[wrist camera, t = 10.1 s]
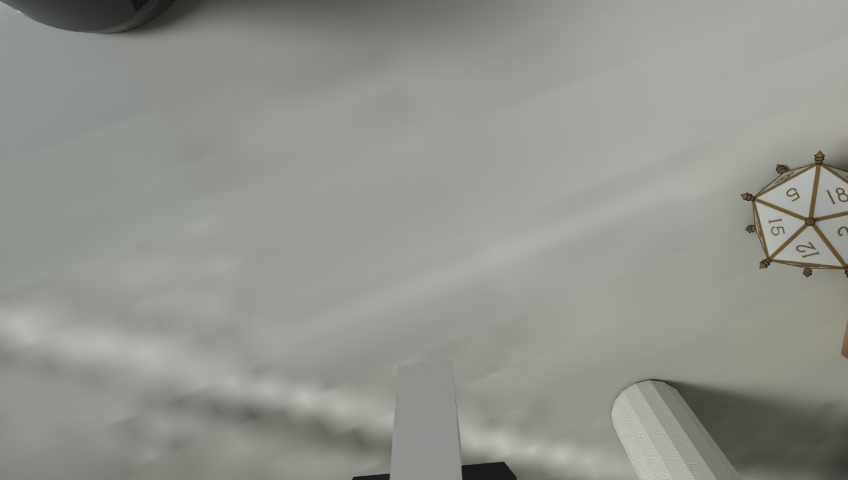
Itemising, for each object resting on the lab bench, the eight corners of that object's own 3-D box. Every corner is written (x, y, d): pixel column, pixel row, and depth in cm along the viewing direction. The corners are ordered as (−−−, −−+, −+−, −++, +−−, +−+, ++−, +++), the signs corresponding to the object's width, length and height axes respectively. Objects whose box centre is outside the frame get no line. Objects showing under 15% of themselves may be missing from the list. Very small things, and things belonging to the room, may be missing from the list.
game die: (766, 169, 45) (916, 129, 36) (793, 273, 44) (952, 257, 36) (692, 183, 41) (840, 141, 32) (721, 297, 40) (879, 286, 32)
